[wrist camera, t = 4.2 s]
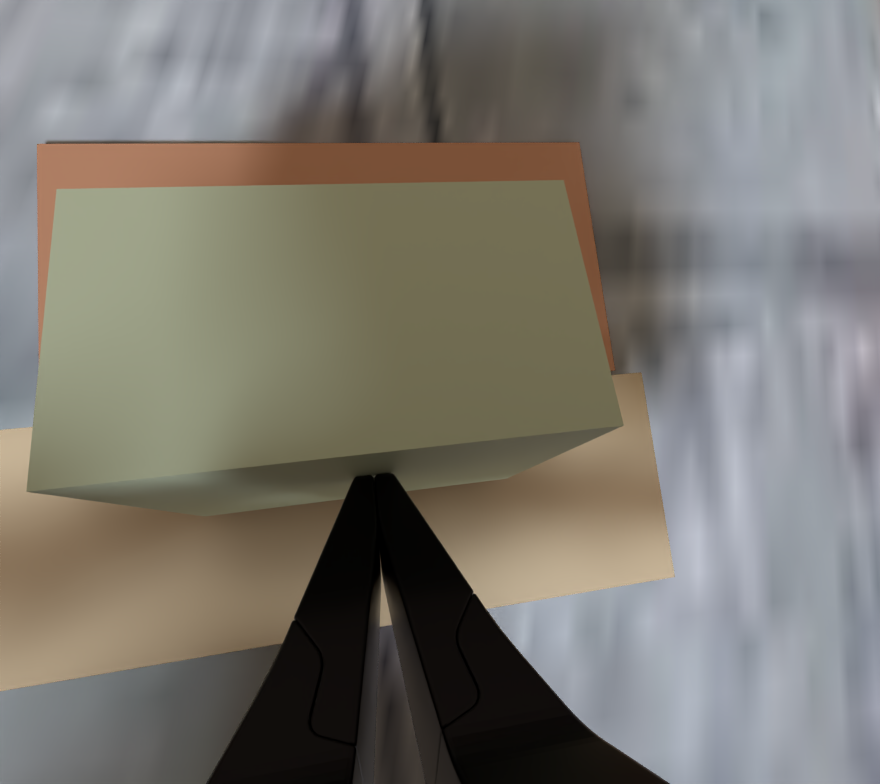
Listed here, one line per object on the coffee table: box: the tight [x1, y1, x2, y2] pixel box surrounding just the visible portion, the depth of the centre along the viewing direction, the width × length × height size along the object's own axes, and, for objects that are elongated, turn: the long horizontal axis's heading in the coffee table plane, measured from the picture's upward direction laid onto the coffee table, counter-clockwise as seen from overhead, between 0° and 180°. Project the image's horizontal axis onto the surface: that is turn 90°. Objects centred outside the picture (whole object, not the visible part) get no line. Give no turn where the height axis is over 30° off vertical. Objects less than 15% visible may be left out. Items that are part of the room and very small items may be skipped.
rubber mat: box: [37, 142, 615, 371], centre depth 18 cm, size 10×20×1 cm, turn 96°
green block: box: [26, 180, 624, 516], centre depth 12 cm, size 5×9×8 cm, turn 97°
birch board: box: [0, 372, 675, 691], centre depth 16 cm, size 7×20×2 cm, turn 96°
